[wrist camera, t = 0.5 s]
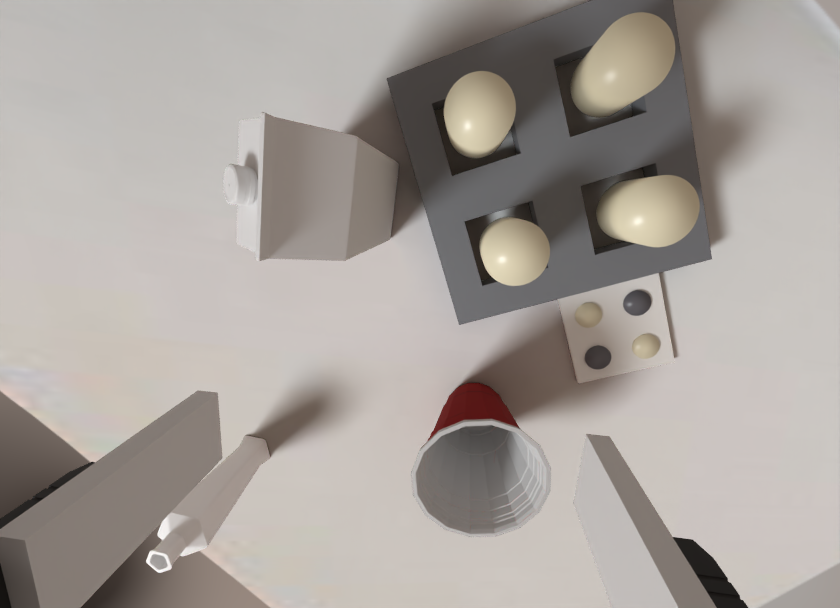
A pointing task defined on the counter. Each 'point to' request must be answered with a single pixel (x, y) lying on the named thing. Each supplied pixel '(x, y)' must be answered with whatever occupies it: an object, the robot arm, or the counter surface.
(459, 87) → the cream rounded cylinder
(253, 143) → the milk carton
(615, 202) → the cream domed cylinder
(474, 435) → the plastic cup
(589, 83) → the cream rounded cylinder
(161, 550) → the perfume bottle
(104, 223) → the counter surface
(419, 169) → the board
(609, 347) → the card
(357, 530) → the counter surface
